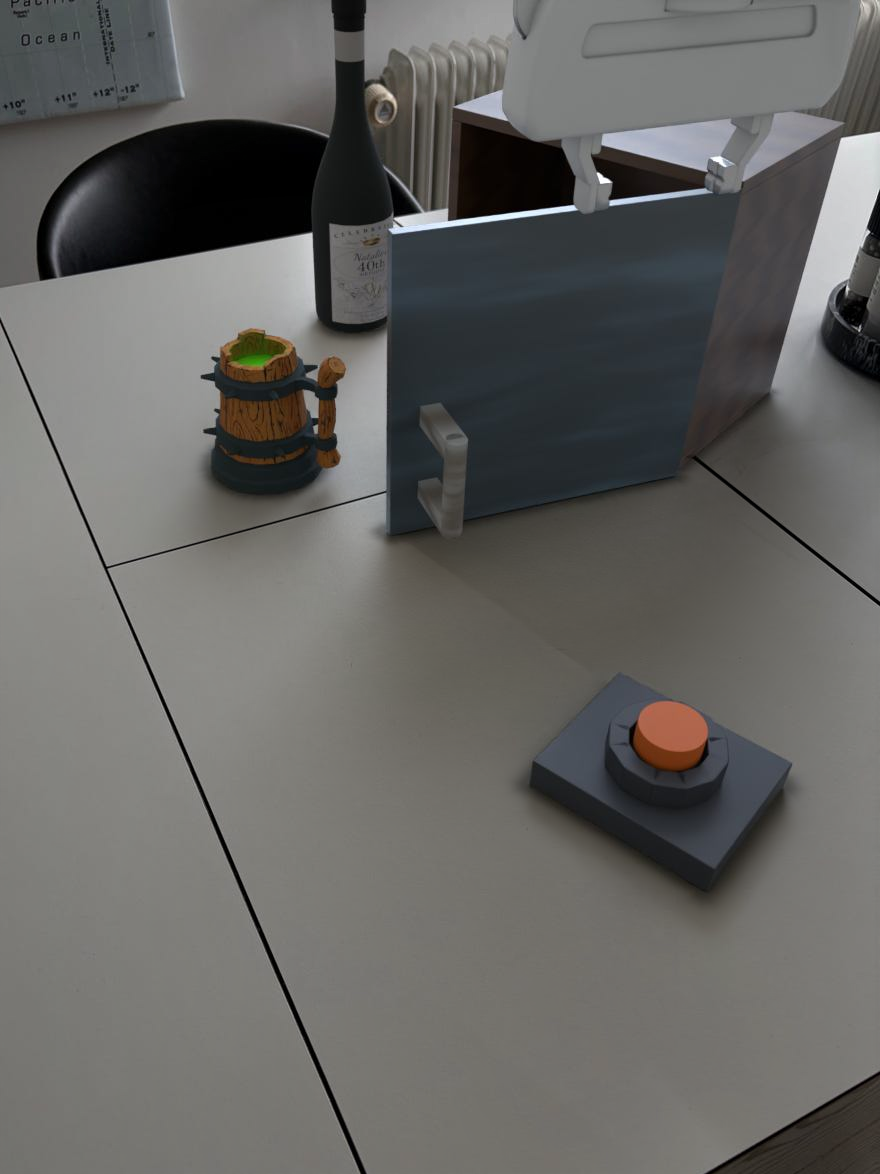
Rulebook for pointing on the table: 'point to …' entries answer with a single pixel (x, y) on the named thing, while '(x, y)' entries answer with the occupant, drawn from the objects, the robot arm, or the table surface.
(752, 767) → the button block
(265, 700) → the table surface
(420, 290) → the door
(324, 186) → the wine bottle
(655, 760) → the button
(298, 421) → the mug
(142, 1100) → the table surface
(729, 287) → the cupboard
